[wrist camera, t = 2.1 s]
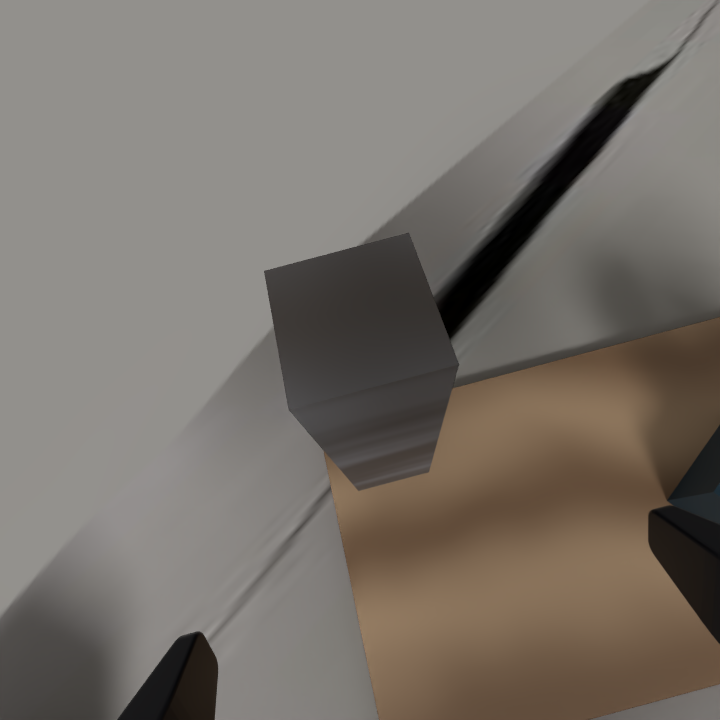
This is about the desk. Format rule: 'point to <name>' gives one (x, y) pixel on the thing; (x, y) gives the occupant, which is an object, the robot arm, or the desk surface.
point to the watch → (701, 483)
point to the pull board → (497, 498)
